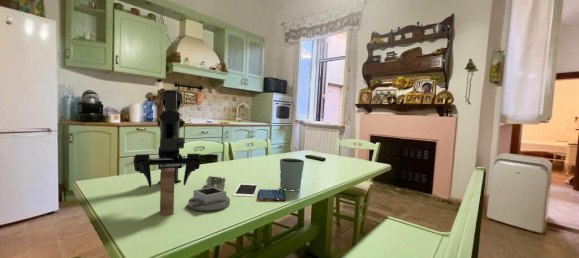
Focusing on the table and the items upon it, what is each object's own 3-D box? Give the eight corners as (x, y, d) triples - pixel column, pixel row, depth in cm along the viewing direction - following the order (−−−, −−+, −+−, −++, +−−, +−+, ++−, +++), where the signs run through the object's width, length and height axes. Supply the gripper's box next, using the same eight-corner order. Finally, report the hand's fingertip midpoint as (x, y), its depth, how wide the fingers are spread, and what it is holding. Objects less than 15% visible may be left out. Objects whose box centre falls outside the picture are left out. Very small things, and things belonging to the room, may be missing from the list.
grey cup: (273, 188, 107) (275, 159, 106) (287, 183, 115) (289, 157, 115) (293, 193, 101) (295, 163, 101) (307, 188, 110) (308, 160, 109)
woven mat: (257, 193, 101) (258, 188, 101) (284, 194, 102) (284, 189, 101) (256, 202, 90) (256, 196, 90) (286, 203, 91) (286, 197, 91)
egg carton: (223, 191, 100) (224, 181, 100) (204, 191, 99) (204, 181, 99) (226, 183, 111) (226, 174, 110) (208, 183, 110) (208, 174, 109)
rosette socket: (181, 203, 84) (181, 189, 84) (216, 195, 94) (217, 183, 94) (200, 215, 75) (200, 200, 75) (237, 205, 85) (237, 192, 85)
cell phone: (232, 197, 94) (232, 195, 94) (240, 185, 111) (240, 183, 110) (253, 197, 95) (254, 196, 95) (258, 185, 111) (258, 184, 111)
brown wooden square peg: (160, 210, 77) (161, 168, 77) (173, 209, 79) (174, 167, 78) (159, 215, 74) (160, 171, 73) (173, 214, 76) (174, 170, 75)
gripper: (135, 127, 76) (128, 172, 67) (200, 129, 84) (203, 169, 74) (138, 150, 84) (132, 193, 74) (198, 149, 92) (199, 188, 82)
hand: (167, 185), depth 76 cm, fingers open, 9 cm apart
